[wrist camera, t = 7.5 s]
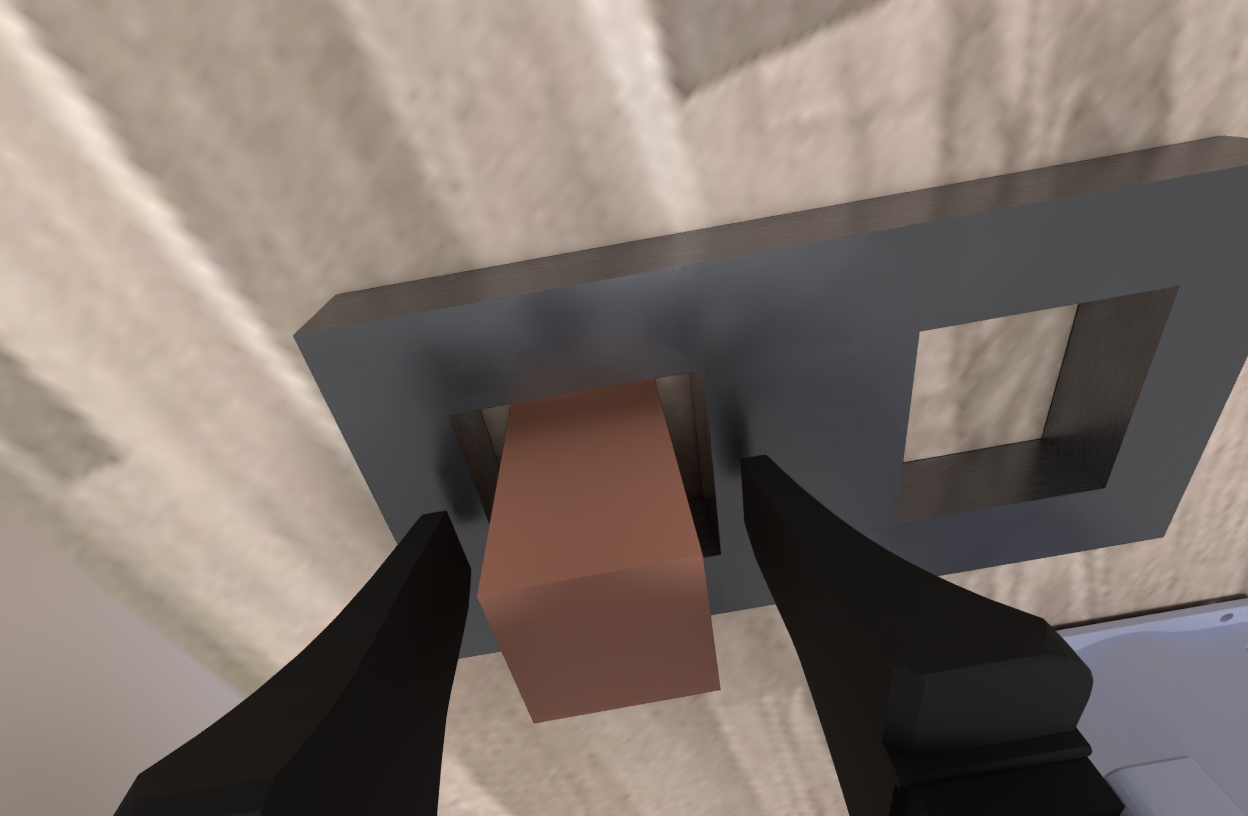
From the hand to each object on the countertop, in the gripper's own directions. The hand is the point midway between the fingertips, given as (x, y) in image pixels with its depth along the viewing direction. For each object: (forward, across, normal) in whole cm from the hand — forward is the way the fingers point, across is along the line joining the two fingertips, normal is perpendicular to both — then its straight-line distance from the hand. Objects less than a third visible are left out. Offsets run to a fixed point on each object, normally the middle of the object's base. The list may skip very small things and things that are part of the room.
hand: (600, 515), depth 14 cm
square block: (+3, 0, 0) cm, 3 cm away
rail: (+3, -6, 0) cm, 6 cm away
